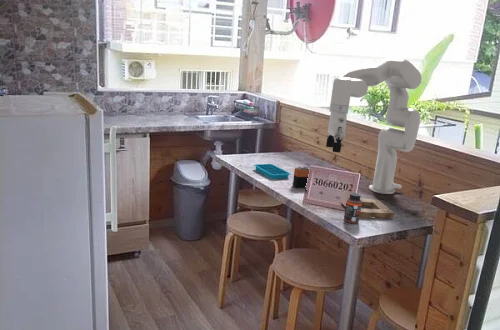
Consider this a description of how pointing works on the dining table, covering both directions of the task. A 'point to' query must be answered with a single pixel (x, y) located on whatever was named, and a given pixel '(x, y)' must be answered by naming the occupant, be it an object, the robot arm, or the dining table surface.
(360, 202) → the supplement bottle
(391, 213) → the wooden frame
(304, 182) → the battery
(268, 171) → the ice cube tray
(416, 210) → the dining table surface
